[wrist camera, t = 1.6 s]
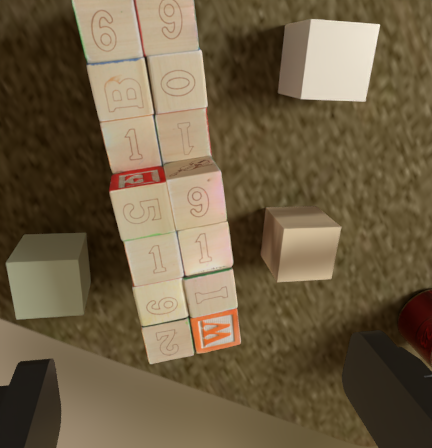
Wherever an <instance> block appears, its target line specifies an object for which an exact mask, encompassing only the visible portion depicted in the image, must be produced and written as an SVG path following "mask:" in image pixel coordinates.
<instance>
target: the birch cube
mask: <svg viewBox="0 0 432 448" xmlns="http://www.w3.org/2000/svg"><path fill="white" fill-rule="evenodd" d="M340 230H341V227H340V226H339V225H338V224H337V223H336V222H334V221H333V220H332V219H331V218H330V217H328V216H327V215H326V214H325V213H324V212H322V211H321V210H320V209H319V208H318V207H316V206H307V207H266V210H265V219H264V228H263V238H262V247H261V257H262V258H263V260H264V262H265V263H266V265H267V266H268V268H269V270H270V271H271V273H272V275H273V276H274V278H275V279H276V281H277V282H288V281H305V280H322V279H331V277H332V272H333V267H334V261H335V256H336V251H337V246H338V241H339V235H340Z"/></svg>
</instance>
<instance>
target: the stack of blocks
mask: <svg viewBox="0 0 432 448" xmlns="http://www.w3.org/2000/svg"><path fill="white" fill-rule="evenodd" d="M71 1H72V6H73V10H74V14H75V18H76V22H77V26H78V30H79V34H80V39H81V44H82V48H83V51H84V55H85V58H86V62H87V65H86V67H87V72H88V76H89V80H90V84H91V89H92V93H93V97H94V101H95V105H96V110H97V114H98V118H99V121H100V127H101V132H102V136H103V140H104V144H105V148H106V152H107V156H108V160H109V164H110V168H111V171H112V173H113V175H112V177H111V182H110V187H109V194H110V198H111V202H112V206H113V210H114V214H115V218H116V221H117V225H118V229H119V233H120V237H121V240H122V241H123V243H124V247H125V252H126V256H127V260H128V264H129V268H130V272H131V276H132V290H133V294H134V298H135V302H136V306H137V310H138V315H139V319H140V323H141V329H142V335H143V339H144V344H145V348H146V353H147V357H148V361H149V363H150V364H153V363H158V362H163V361H167V360H172V359H177V358H182V357H187V356H192V355H194V353H195V352H196V353H205V352H209V351H213V350H218V349H222V348H226V347H231V346H235V345H239V344H240V343H241V339H240V330H239V321H238V312H237V306H238V304H237V296H236V289H235V281H234V274H233V269H232V265H233V263H234V262H233V254H232V247H231V239H230V231H229V225H228V222H227V212H226V205H225V197H224V189H223V181H222V173H221V170H220V169H219V167H218V166H217V165H216V163H215V161H214V160H213V158H212V154H211V145H210V136H209V128H208V118H207V109H206V108H207V105H208V103H207V93H206V83H205V74H204V66H203V58H202V51H201V50H200V49H199V43H198V33H197V24H196V15H195V7H194V0H71Z"/></svg>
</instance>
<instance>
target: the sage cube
mask: <svg viewBox="0 0 432 448" xmlns="http://www.w3.org/2000/svg"><path fill="white" fill-rule="evenodd" d="M6 267H7V272H8V277H9V283H10V288H11V293H12V299H13V304H14V309H15V315H16V319H31V318H46V317H60V316H75V315H84V312H85V307H86V303H87V298H88V293H89V289H90V284H91V278H90V267H89V256H88V246H87V235H86V233H57V234H25V235H23V237H22V239H21V240H20V242H19V243H18V245H17V246H16V248H15V249H14V251H13V252H12V254H11V255H10V257H9V258H8V260H7V262H6Z"/></svg>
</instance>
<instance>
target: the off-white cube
mask: <svg viewBox="0 0 432 448" xmlns="http://www.w3.org/2000/svg"><path fill="white" fill-rule="evenodd" d="M379 27H380V24H368V23H355V22H342V21H329V20H317V19H309V20H305V21H300V22H296V23H291V24H287V25H285V31H284V40H283V49H282V59H281V68H280V78H279V87H278V93H279V94H283V95H287V96H291V97H294V98H298V99H312V100H339V101H365V100H366V95H367V90H368V85H369V79H370V74H371V69H372V64H373V59H374V53H375V48H376V43H377V38H378V33H379Z"/></svg>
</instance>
